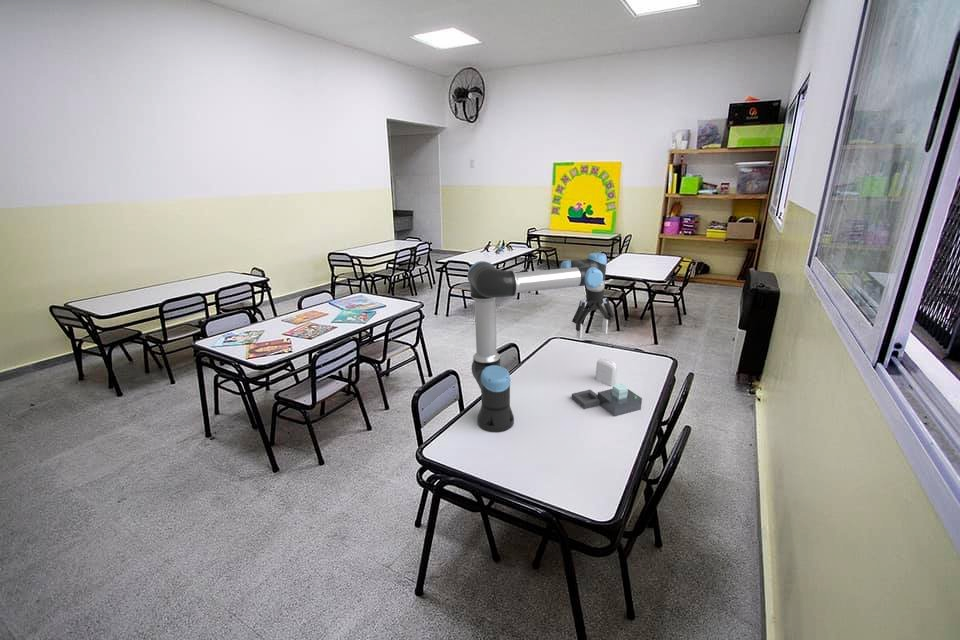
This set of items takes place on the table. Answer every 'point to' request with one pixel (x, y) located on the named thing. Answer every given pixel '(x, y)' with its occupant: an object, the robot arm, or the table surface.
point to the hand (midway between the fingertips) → (591, 335)
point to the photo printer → (606, 372)
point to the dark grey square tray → (586, 399)
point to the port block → (619, 403)
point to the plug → (619, 391)
